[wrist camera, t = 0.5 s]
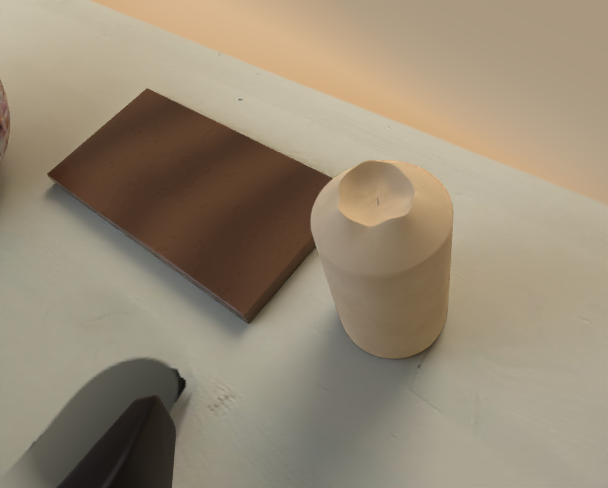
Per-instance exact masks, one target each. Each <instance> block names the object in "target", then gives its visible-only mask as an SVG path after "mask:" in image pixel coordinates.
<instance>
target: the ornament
mask: <svg viewBox="0 0 608 488" xmlns="http://www.w3.org/2000/svg"><path fill="white" fill-rule="evenodd" d="M9 132H10V113H9V108H8V103H7V98H6V93H5V91H4V88H3V85H2V83H1V80H0V163H1V161H2V159H3V156H4V154H5V151H6V148H7V144H8V138H9Z"/></svg>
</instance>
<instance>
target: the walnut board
mask: <svg viewBox="0 0 608 488" xmlns="http://www.w3.org/2000/svg"><path fill="white" fill-rule="evenodd" d="M47 175H48V176H49V177H50V178H51V180H52V181H53V182H54V183H56V184H57V185H58V186H60V187H61V188H62V189H64V190H65V191H67V192H68V193H69V194H71V195H72V196H73V197H75V198H76V199H78V200H79V201H80V202H82V203H83V204H84V205H86V206H87V207H89V208H90V209H91V210H93V211H94V212H95V213H97V214H98V215H100V216H101V217H102V218H104V219H105V220H106V221H108V222H109V223H111V224H112V225H113V226H115V227H116V228H118V229H119V230H120V231H122V232H123V233H124V234H126V235H127V236H129V237H130V238H131V239H133V240H134V241H135V242H137V243H138V244H140V245H141V246H142V247H144V248H145V249H146V250H148V251H149V252H151V253H152V254H153V255H155V256H156V257H157V258H159V259H160V260H162V261H163V262H164V263H166V264H167V265H168V266H170V267H171V268H173V269H174V270H175V271H177V272H178V273H180V274H181V275H182V276H184V277H185V278H186V279H188V280H189V281H191V282H192V283H193V284H195V285H196V286H197V287H199V288H200V289H202V290H203V291H204V292H206V293H207V294H208V295H210V296H211V297H213V298H214V299H215V300H217V301H218V302H219V303H221V304H222V305H224V306H225V307H226V308H228V309H229V310H230V311H232V312H233V313H235V314H236V315H237V316H239V317H240V318H241V319H243V320H244V321H246V322H247V323H250V322H251V320H252V319H253V318H254V317H255V316H256V315H257V313H258V312H259V311H260V310H261V309H262V308H263V306H264V305H265V304H266V303H267V302H268V301H269V299H270V298H271V297H272V296H273V295H274V294H275V292H276V291H277V290H278V289H279V288H280V287H281V285H282V284H283V283H284V282H285V281H286V280H287V278H288V277H289V276H290V275H291V274H292V273H293V271H294V270H295V269H296V268H297V267H298V266H299V264H300V263H301V262H302V261H303V260H304V259H305V257H306V256H307V255H308V254H309V253H310V252H311V251H312V249H313V248H314V247H315V246H316V244H315V241H314V238H313V235H312V231H311V223H310V222H311V213H312V208H313V205H314V203H315V200H316V199H317V197H318V195H319V193H320V192H321V191H322V189H323V188H324V187H325V186H326V185H327V184H328V183H329V182H330V181H331V180H332V179H333V178H331V177H329V176H327V175H325V174H323V173H321V172H319V171H317V170H315V169H313V168H310V167H308V166H306V165H304V164H302V163H300V162H298V161H296V160H294V159H292V158H290V157H288V156H286V155H284V154H282V153H280V152H278V151H275V150H273V149H271V148H269V147H267V146H265V145H263V144H261V143H259V142H257V141H255V140H253V139H251V138H249V137H247V136H245V135H242V134H240V133H238V132H236V131H234V130H232V129H230V128H228V127H226V126H224V125H222V124H220V123H218V122H216V121H214V120H212V119H210V118H207V117H205V116H203V115H201V114H199V113H197V112H195V111H193V110H191V109H189V108H187V107H185V106H183V105H181V104H179V103H177V102H174V101H172V100H170V99H168V98H166V97H164V96H162V95H160V94H158V93H156V92H154V91H152V90H150V89H148V88H147V89H146V90H144V91H143V92H142V93H141V94H140V95H139V96H137V97H136V98H135V99H134V100H133V101H132V102H130V103H129V104H128V105H127V106H126V107H125V108H123V109H122V110H121V111H120V112H119V113H118V114H116V115H115V116H114V117H113V118H112V119H111V120H109V121H108V122H107V123H106V124H105V125H104V126H102V127H101V128H100V129H99V130H98V131H97V132H96V133H94V134H93V135H92V136H91V137H90V138H89V139H87V140H86V141H85V142H84V143H83V144H82V145H80V146H79V147H78V148H77V149H76V150H75V151H73V152H72V153H71V154H70V155H69V156H68V157H66V158H65V159H64V160H63V161H62V162H61V163H59V164H58V165H57V166H56V167H55V168H54V169H52V170H51V171H50V172H49V173H48V174H47Z"/></svg>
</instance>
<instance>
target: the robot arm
mask: <svg viewBox="0 0 608 488" xmlns="http://www.w3.org/2000/svg"><path fill="white" fill-rule="evenodd" d="M175 441H176V429H175V425H174V422H173V420H172V418H171V416H170V414H169V413H168V411H167V409H166V407H165V405H164V403H163V401H162V400H161V398H159V396H155V395H154V396H147V397H141V398H137V399H136V400H134V401H133V402H132V403H131V404H130V405H129V407H128V408H127V409H126V410H125V411H124V412H123V413H122V415H121V416H120V417H119V418H118V419H117V420H116V421H115V423H114V424H113V425H112V426H111V427H110V428H109V429H108V430H107V431H106V432H105V434H104V435H103V436H102V437H101V438H100V439H99V440H98V442H97V443H96V444H95V445H94V446H93V447H92V448H91V450H90V451H89V452H88V453H87V454H86V455H85V456H84V457H83V458H82V460H81V461H80V462H79V463H78V464H77V465H76V466H75V467H74V469H73V470H72V471H71V472H70V473H69V474H68V475H67V476H66V478H65V479H64V480H63V481H62V482H61V483H60V484H59V485H58V487H57V488H172V479H173V466H174V454H175Z"/></svg>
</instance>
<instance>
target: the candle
mask: <svg viewBox="0 0 608 488" xmlns="http://www.w3.org/2000/svg"><path fill="white" fill-rule="evenodd" d="M310 223H311V231H312V235H313V238H314V241H315V244H316V248H317V251H318V254H319V257H320V260H321V263H322V266H323V269H324V272H325V275H326V278H327V281H328V284H329V287H330V290H331V293H332V296H333V299H334V302H335V305H336V308H337V311H338V314H339V317H340V319H341V322H342V325H343V327H344V329H345V331H346V333H347V334H348V336H349V337H350V338H351V339H352V341H353V342H354V343H355V344H356V345H357V346H358V347H360V348H361V349H363V350H364V351H366V352H368V353H370V354H372V355H375V356H378V357H382V358H389V359H399V358H406V357H409V356H413V355H415V354H418V353H420V352H421V351H423V350H425V349H426V348H428V347H429V346H430V345H431V344H432V343H433V342H434V341H435V340H436V339H437V337H438V336H439V335H440V333H441V331H442V329H443V327H444V324H445V322H446V317H447V311H448V297H449V280H450V263H451V246H452V230H453V205H452V202H451V198H450V196H449V194H448V192H447V190H446V189H445V187H444V186H443V184H442V183H441V182H440V181H439V180H438V179H437V178H436V177H435V176H433V175H432V174H431V173H429V172H428V171H426V170H424V169H422V168H420V167H418V166H415V165H412V164H409V163H405V162H400V161H392V160H381V161H376V160H368V161H364V162H362V163H360V164H358V165H357V166H354V167H352V168H350V169H348V170H346V171H344V172H342V173H340V174H339V175H337V176H336V177H335V178H333V179H332V180H331V181H330V182H329V183H328V184H327V185H326V186H325V187H324V188H323V189H322V191H321V192H320V193H319V195H318V197H317V199H316V200H315V203H314V205H313V208H312V213H311V222H310Z"/></svg>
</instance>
